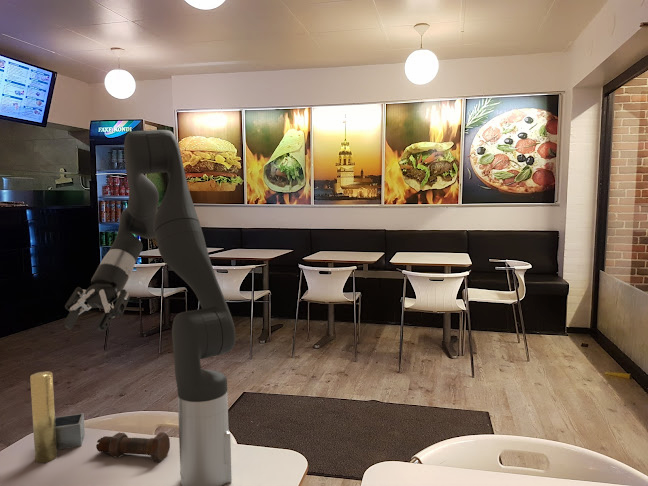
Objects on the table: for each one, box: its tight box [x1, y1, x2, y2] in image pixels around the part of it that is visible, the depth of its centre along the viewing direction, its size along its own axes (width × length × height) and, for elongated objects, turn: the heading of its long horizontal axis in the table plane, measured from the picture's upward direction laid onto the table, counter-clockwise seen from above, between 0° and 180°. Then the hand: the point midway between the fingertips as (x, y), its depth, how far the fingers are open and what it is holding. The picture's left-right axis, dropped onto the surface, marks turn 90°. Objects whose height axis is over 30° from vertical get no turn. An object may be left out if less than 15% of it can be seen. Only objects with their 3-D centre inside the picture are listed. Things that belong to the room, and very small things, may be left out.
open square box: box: [55, 412, 86, 451], centre depth 108 cm, size 6×6×5 cm
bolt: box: [96, 431, 171, 463], centre depth 102 cm, size 6×5×15 cm
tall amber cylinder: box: [29, 371, 58, 464], centre depth 101 cm, size 4×4×18 cm
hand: (83, 328), depth 110 cm, fingers open, 8 cm apart
